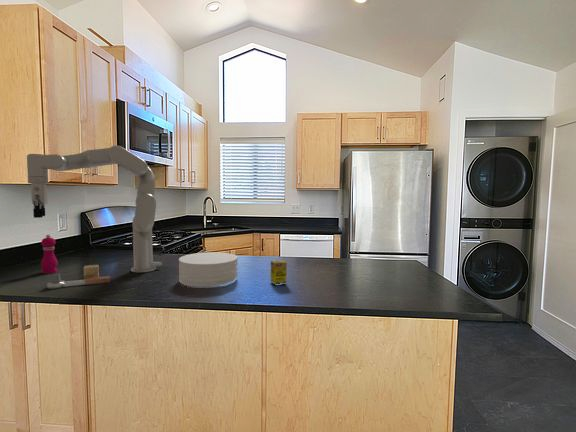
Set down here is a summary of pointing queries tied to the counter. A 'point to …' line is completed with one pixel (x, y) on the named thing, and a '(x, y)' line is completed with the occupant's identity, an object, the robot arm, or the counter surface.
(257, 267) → the counter surface
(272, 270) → the supplement box
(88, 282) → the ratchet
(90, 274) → the mustard yellow cube
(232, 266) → the plate stack
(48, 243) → the pepper mill
